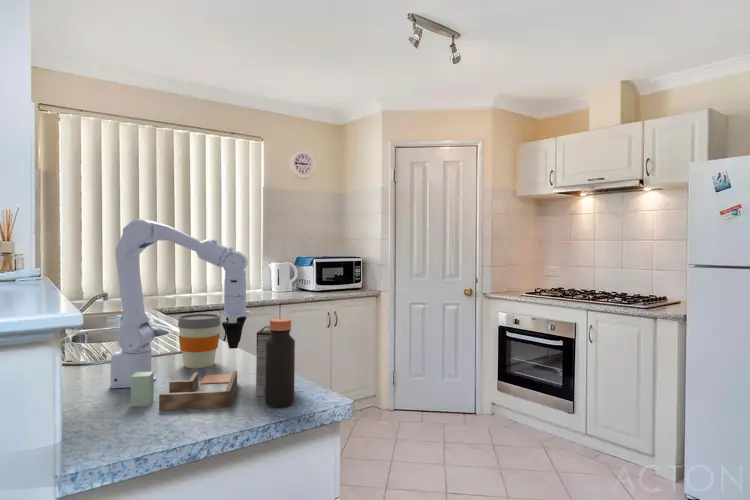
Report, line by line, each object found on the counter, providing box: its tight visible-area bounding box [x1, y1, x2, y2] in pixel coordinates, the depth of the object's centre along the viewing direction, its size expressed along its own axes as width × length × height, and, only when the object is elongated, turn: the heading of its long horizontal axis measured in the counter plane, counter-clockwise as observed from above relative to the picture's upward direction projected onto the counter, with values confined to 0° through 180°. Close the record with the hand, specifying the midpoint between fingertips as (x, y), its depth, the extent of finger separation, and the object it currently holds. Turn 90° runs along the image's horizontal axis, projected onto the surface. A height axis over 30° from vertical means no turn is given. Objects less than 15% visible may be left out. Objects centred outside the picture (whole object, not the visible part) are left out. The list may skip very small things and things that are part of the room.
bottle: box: [264, 318, 296, 409], centre depth 116 cm, size 7×7×20 cm
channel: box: [158, 370, 238, 411], centre depth 121 cm, size 16×18×4 cm
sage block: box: [130, 371, 155, 408], centre depth 115 cm, size 4×4×7 cm
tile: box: [200, 373, 232, 385], centre depth 135 cm, size 8×8×1 cm
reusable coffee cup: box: [177, 313, 221, 369], centre depth 152 cm, size 13×13×15 cm
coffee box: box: [255, 325, 271, 397], centre depth 125 cm, size 9×6×16 cm
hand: (234, 345), depth 133 cm, fingers open, 7 cm apart
